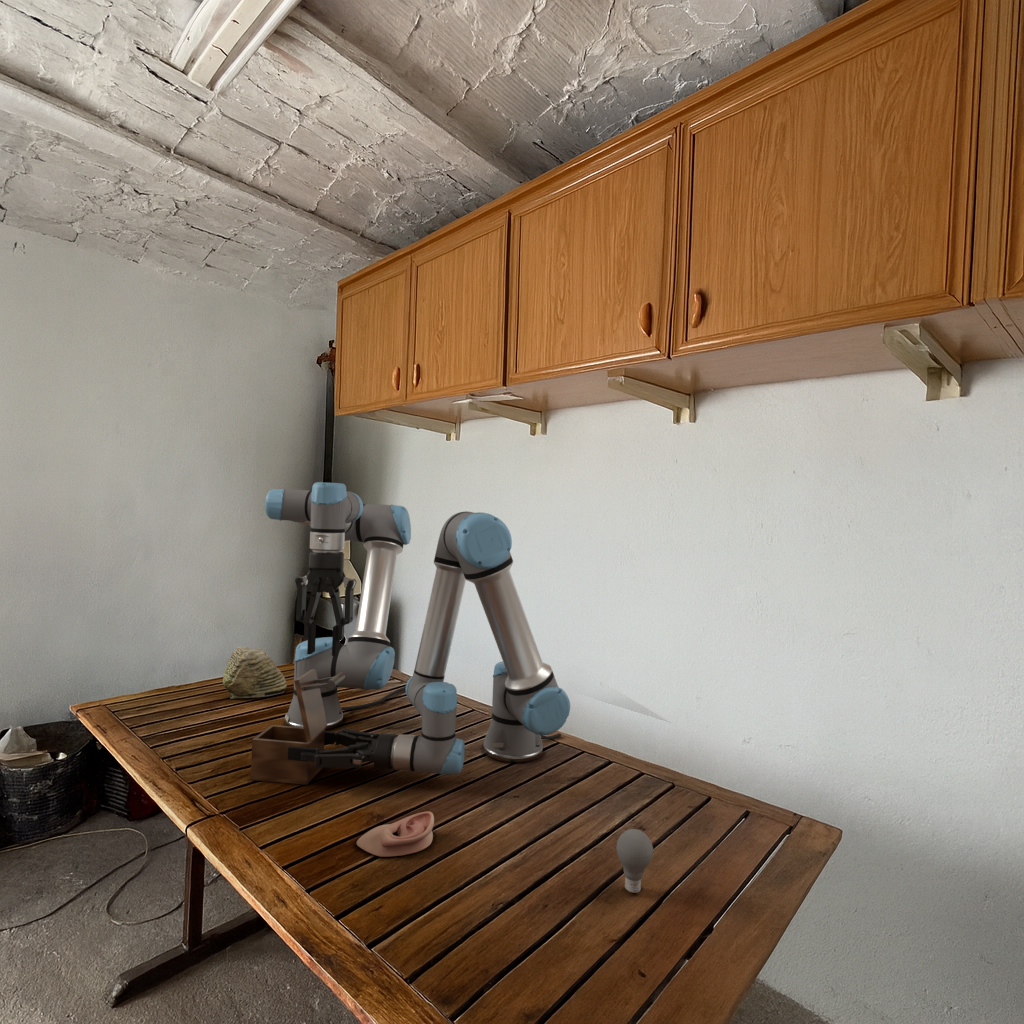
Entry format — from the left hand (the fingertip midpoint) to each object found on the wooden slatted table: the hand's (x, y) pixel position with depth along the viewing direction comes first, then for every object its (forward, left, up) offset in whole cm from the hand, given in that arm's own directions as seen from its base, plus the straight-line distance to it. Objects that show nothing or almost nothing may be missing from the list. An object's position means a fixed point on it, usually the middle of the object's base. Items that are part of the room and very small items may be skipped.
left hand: (323, 653), depth 143 cm
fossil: (-19, -63, -28) cm, 71 cm away
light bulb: (-10, +74, -28) cm, 80 cm away
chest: (+4, -6, -28) cm, 29 cm away
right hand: (+3, -4, -21) cm, 22 cm away
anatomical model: (+6, +34, -28) cm, 44 cm away
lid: (+2, -2, -12) cm, 12 cm away
